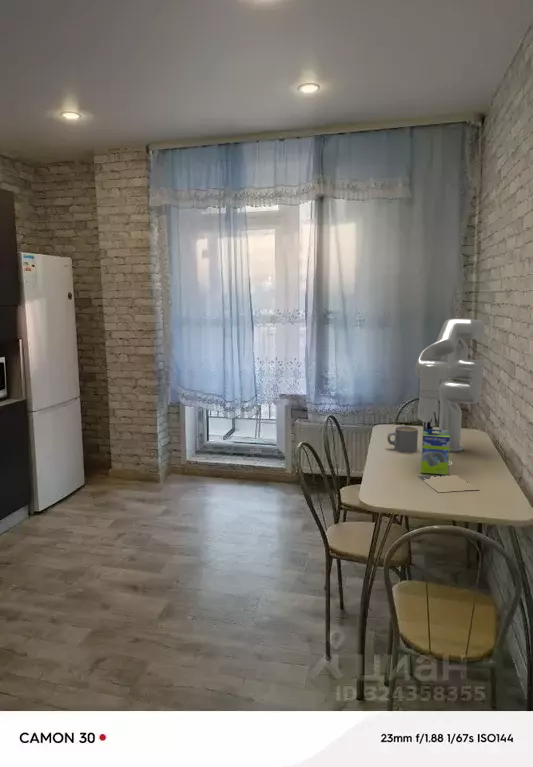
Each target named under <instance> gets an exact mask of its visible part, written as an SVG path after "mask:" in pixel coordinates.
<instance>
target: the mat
mask: <svg viewBox="0 0 533 767" xmlns="http://www.w3.org/2000/svg"><path fill="white" fill-rule="evenodd" d="M454 474H455V473H454ZM440 475H441V476H444V474H432V475H418V478H419V477H420V478H421V479H422V481H423V480H425V479H430V477H431V476H434V477H436V476H440ZM455 475H456V474H455ZM441 476H440V477H441ZM420 478H419V479H420ZM424 478H425V479H424ZM421 479H420V480H421ZM466 481H467V480H466ZM468 482H469V481H467V483H468Z"/></svg>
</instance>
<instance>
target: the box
mask: <svg viewBox="0 0 533 767" xmlns="http://www.w3.org/2000/svg"><path fill="white" fill-rule="evenodd" d="M439 432H440V433H439ZM421 438H422V439H421V460H420V473H423V474H432V475H449V466H450V465H449V464H450V463H449V461H450V452H449V450H450V436H449V430H439V429H434V428H433V429H422V435H421Z"/></svg>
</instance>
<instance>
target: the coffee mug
mask: <svg viewBox="0 0 533 767" xmlns="http://www.w3.org/2000/svg"><path fill="white" fill-rule="evenodd" d="M418 430H419V429H418V427H415V426H411V425H409V426H408V425H399V426H395V430H394V431H389V432H388V434H387V438H386V439H387V442H388V444H390V445H393V446H394V450H395V451H397V452H399V453H404V454H405V453H407V454H409V453H410V454H411V453H412V454H413V453H417V451H418V435H419V431H418ZM392 436H394V440H391V437H392Z"/></svg>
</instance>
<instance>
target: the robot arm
mask: <svg viewBox="0 0 533 767" xmlns="http://www.w3.org/2000/svg"><path fill="white" fill-rule="evenodd" d="M484 334H485V323H484V322H483V320H481V319H473V318H449V319H447V320H445V321H444V322H443V324H442V327H441V329H440V331H439V334H438V337H437V340H436V342H433V343H432V344H430V345H428V346H427V347H425V349H423V350H422V351H421V352H420V354H419V356H418V359H417V360H416V364H415V367H414V372H415V375H416V376H417V377H418V378H420V380H419V382H420V383H419V399H418V406H417V415H416V416H417V419H418V420H420V421H421V422H422V428H423V429H433V430H434V427H435V426H436V423H438V421H439V424H438V426H439V427H438V428H439V429H438V430H449V436H450V450H449V453H457V452H458V453H459V452H463V450H464V448H465V447H464V445H462V444H461V438H462V437H461V433H462V418H463V417H462V415H463V411H462V409H461V407H460V406H459V404H468V405H473V404H474V405H475V404H477V403H478V402H479V399H480V397H481V396H480V395H481V389H482V384H483V383H482V382H483V378H484V377H483V376H484V364H483V362H482V361H480V360H479V359H469V352H470V350H469V347H468V345H467V343H466V341H464V340H463V339H469V340H470V339H473V340H479V339H481V338H482V337H483V336H484ZM445 356H447V362H446V361H439V360H435V359H437V358H441V357H445ZM448 378H449V379H453V380H447V379H448ZM443 380H444V381H443ZM445 380H446V381H445ZM456 380H459V381H456ZM460 380H461V381H460ZM440 381H443V382H441V383H440ZM467 381H469V382H467ZM423 429H422V430H423ZM439 433H440V432H438V434H439Z"/></svg>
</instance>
